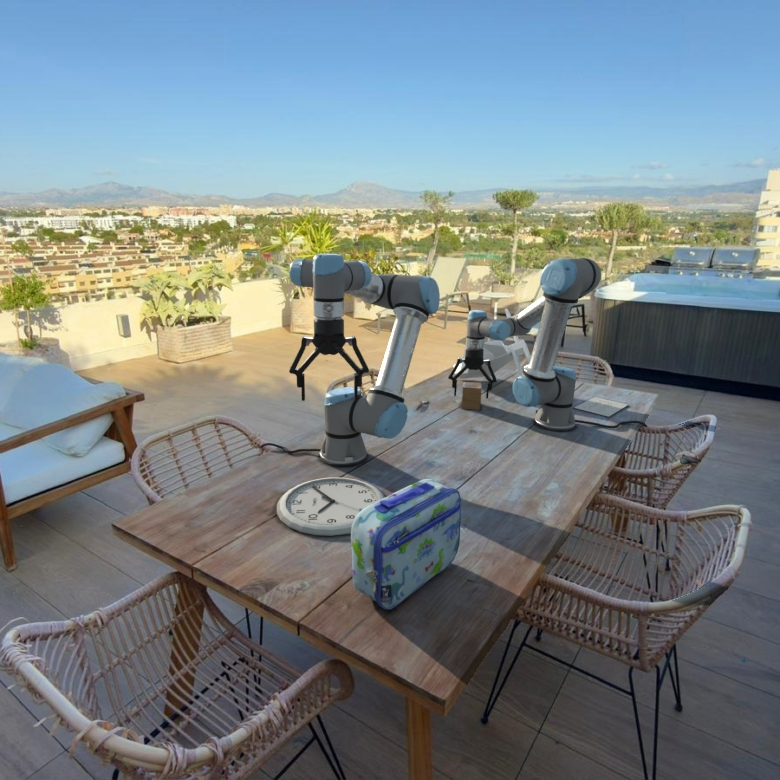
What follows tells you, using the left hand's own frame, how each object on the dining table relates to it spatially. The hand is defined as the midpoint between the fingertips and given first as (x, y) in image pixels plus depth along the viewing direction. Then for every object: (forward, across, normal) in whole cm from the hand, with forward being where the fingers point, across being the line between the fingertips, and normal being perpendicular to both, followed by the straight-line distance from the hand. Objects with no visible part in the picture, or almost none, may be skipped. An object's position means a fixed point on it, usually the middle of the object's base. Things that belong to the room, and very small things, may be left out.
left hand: (329, 398), depth 137 cm
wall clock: (+30, 0, -2) cm, 30 cm away
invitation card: (+28, +118, +70) cm, 140 cm away
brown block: (+28, +61, +76) cm, 102 cm away
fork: (+29, +40, +78) cm, 93 cm away
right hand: (+24, +61, +76) cm, 101 cm away
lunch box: (+30, +16, -36) cm, 50 cm away
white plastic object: (+28, +80, +103) cm, 133 cm away
